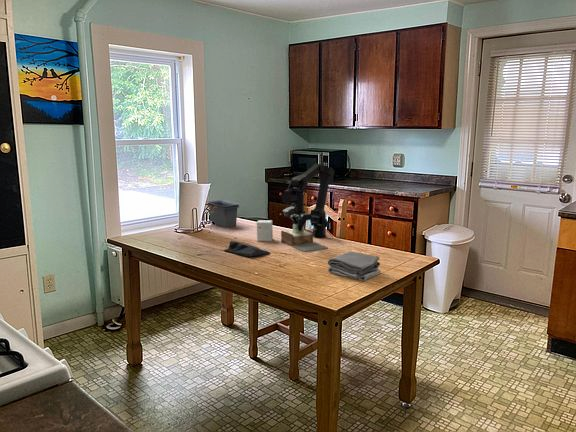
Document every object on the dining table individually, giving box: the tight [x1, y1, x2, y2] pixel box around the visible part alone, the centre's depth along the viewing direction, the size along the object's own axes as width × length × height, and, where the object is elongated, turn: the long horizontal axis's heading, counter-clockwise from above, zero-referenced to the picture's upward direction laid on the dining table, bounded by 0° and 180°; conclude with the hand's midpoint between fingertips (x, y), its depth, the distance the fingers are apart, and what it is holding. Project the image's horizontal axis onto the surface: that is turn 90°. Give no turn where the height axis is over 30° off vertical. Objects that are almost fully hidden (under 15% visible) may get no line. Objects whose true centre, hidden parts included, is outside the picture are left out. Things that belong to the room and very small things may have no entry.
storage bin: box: [206, 199, 240, 228], centre depth 289 cm, size 21×16×14 cm
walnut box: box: [280, 228, 314, 247], centre depth 246 cm, size 13×11×6 cm
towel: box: [327, 251, 382, 282], centre depth 194 cm, size 15×18×8 cm
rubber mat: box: [291, 241, 329, 253], centre depth 236 cm, size 14×12×1 cm
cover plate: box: [285, 223, 312, 237], centre depth 244 cm, size 11×10×5 cm
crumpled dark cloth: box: [223, 240, 271, 258], centre depth 228 cm, size 15×22×5 cm
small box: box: [256, 219, 274, 242], centre depth 251 cm, size 8×6×10 cm
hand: (298, 230), depth 244 cm, fingers closed on cover plate, 3 cm apart
